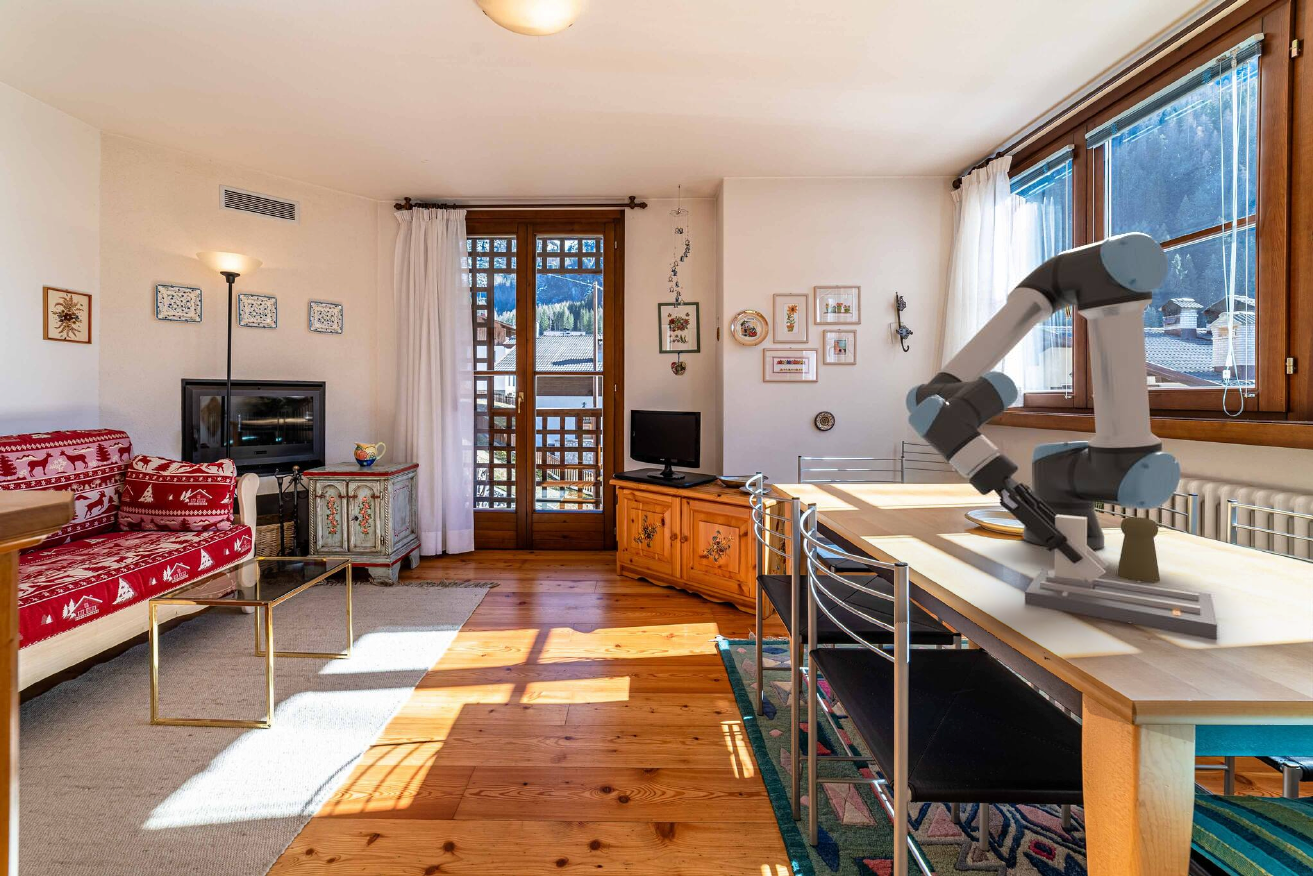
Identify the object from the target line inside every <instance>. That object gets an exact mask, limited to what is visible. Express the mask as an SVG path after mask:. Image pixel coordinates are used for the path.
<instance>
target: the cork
mask: <svg viewBox="0 0 1313 876" xmlns="http://www.w3.org/2000/svg"><path fill="white" fill-rule="evenodd" d="M1120 530H1121V532H1122V533H1123V535H1124V536H1123V540H1122V545H1121V552H1120V555H1119V556H1120V557H1119V562H1118V568H1117V570H1116V571H1117V572H1116V576H1117V577H1118V578H1121V579H1122V580H1123V579H1124V580H1127V579H1128V580H1127V581H1130V582H1132V581H1133V582H1137V581H1140V582H1139V583H1147V584H1148V583H1152V584H1153V583H1154V584H1155V583H1159V582H1161V578H1160V571H1159V565H1158V564H1159V563H1158V558H1157V552H1156V551H1157V550H1156V543H1155V537H1156V536H1157V535H1158V533H1159V525H1158V524H1157V522H1156V521H1155V520H1153V519H1150V518H1147V517H1139V516H1138V517H1137V516H1136V517H1135V516H1133V517H1126V518H1124V519H1122V520H1121V522H1120Z"/></svg>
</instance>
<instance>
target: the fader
mask: <svg viewBox="0 0 1313 876" xmlns="http://www.w3.org/2000/svg"><path fill="white" fill-rule="evenodd" d="M1055 527H1056V528H1057V529H1058V530H1059V531H1060V532H1061V533H1062V534H1063V535H1064V536H1066V537H1067V539H1068V540H1069V539H1071V540H1072V541H1073V542H1074V543H1075V544H1076V545H1078V546H1079V547H1080V548H1081V549H1082V550H1083V551H1084V552H1085V553H1086V554H1087V517H1080V516H1068V515H1056V517H1055ZM1049 570H1050V572H1049V573H1048V575H1047V576H1046V582H1051V583H1057V584H1063V585H1070V586H1076V587H1082V588H1088V589H1092V588H1093V586H1094V582H1095V579H1094V580H1093V581H1091V582H1089V581H1088V580H1087V579H1086V578H1085V577H1084V576H1083V575H1082V574H1080V573H1079V572H1078V571H1077V570H1076V569H1075V568H1074V567H1073V566H1072V565H1071V564H1070V563H1069V562H1068V561H1067V560H1066V559H1065V558H1064V557H1063V556H1061V555H1060V554H1059V553H1058V552H1057V551H1056V550H1055V549H1054V569H1049Z"/></svg>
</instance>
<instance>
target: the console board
mask: <svg viewBox="0 0 1313 876" xmlns="http://www.w3.org/2000/svg"><path fill="white" fill-rule="evenodd" d="M1050 570H1051V569H1044V568H1042V569H1040V571H1039V572H1038V573H1037V575H1036V576H1035V577H1034V579H1033V580H1032V582H1031V583H1029V586H1027V589H1026V590H1025V591H1024V604H1025V605H1028V606H1029V605H1030V606H1034V607H1041V608H1046V609H1051V610H1057V611H1061V612H1067V613H1074V614H1078V615H1083V616H1084V615H1085V616H1089V617H1093V618H1094V617H1095V618H1099V617H1100V619H1106V620H1109V621H1110V620H1112V621H1116V622H1122V623H1126V622H1131V623H1135V624H1134V625H1137V624H1139V625H1138V626H1142V625H1143V626H1142V627H1149V628H1154V629H1159V630H1165V631H1170V632H1175V633H1179V634H1180V633H1181V634H1187V635H1192V636H1197V637H1202V638H1207V639H1214V640H1217V638H1218V634H1217V633H1218V623H1217V618H1216V614H1215V608H1214V602H1213V599H1212V597H1213V596H1212V593H1207V592H1202V591H1201V592H1199V591H1195V590H1194V591H1193V590H1187V589H1186V590H1185V589H1179V588H1172V587H1165V586H1158V585H1153V584H1152V585H1151V584H1148V583H1147V584H1146V583H1141V582H1134V581H1133V582H1132V581H1125V580H1119V579H1113V578H1104V577H1100V576H1099V577H1098V578H1096V579H1095V582H1094V586H1093V588H1092V589H1088V588H1082V587H1076V586H1070V585H1063V584H1057V583H1051V582H1046V576H1047V575H1048V573H1049V572H1050ZM1131 623H1130V624H1131Z"/></svg>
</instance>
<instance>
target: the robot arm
mask: <svg viewBox="0 0 1313 876" xmlns="http://www.w3.org/2000/svg"><path fill="white" fill-rule="evenodd" d="M1168 268H1169V265H1168V259H1167V256H1166V253H1165V250H1164V249H1163V247H1162V246H1161V245H1160V243H1159V242H1158V241H1156V240H1155V239H1154V238H1153V237H1152V236H1149V235H1148V234H1145V233H1142V232H1129V233H1125V234H1120V235H1114V236H1110V237H1107V238H1105V239H1102V240H1101V239H1100V240H1099V241H1095V242H1091V243H1088V244H1086V245H1082V246H1079V247H1076V248H1073V249H1068V250H1066V251H1065V250H1064V251H1062V252H1060V253H1058V254H1056V255H1053V256H1052V257H1051V258H1049V259H1047V260H1046V261H1045V262H1043V263H1042V264H1040V265H1039V266H1038V267H1036V268H1035V269H1034V270H1033V271H1031V272H1030V273H1029V274H1028V275H1027V276H1025V278H1023V280H1021V281H1020V282H1019V283H1018V284H1017V285H1016V287H1014V288H1013V290H1012V291H1010V292H1009V294H1008V295H1007V299H1006V303H1005V304H1004V305H1003V306H1002V307H1001V308H1000V309H999V310H998V311H997V312H996V313H995V315H993V317H992V318H990V319H989V321H987V323H985V324H984V326H983V327H982V328H980V329H979V331H978V332H977V333H976V334H975V335H973V337H972V338H971V339H970V340H969V341H968V342H967V343H966V344H965V345H963V347H962V348H961V349H960V350H959V351H958V352H957V353H956V354H955V355H954V356H953V357H952V358H951V359H950V360H949V361H948V362H947V364H946V365H944V366H943V368H941V370H939V372H938V373H936V375H935V376H933V377H932V379H930V380H929V381H928V382H927V383H922V384H919V385H916V386H912V388H911V389H909V391H908V392H907V395H906V396H905V407H906V409H907V411H908V413H909V416H908V423H909V425H910V426H911V427H912V429H913V430H914V431H915V432H916V433H917V434H918V435H919V436H920V438H921V439H922V440H925V442H926V443H927V444H928V445H929V446H930V447H931V448H933V449H934V450H935V452H937V453H938V454H939V455H940V456H941V457H943V459H945V461H946V462H948V464H950V465H951V466H952V467H951V471H953V472H958V473H959V474H960V475H961V476H962V477H964V478H969V479H968V483H969V484H970V485H971V486H972V487H973V488H974V489H976V491H978V493H980V495H983V496H987V495H988V494H989V493H991V492H993V491H994V492H995V494H997V495H998V497H999V501H1000V502H999V504H1000V506H1001V507H1003V508H1004V509H1005V510H1007V512H1009V513H1010V514H1012V515H1013V517H1015V518H1016V519H1017V520H1018V521H1019V523H1021V524H1022V525H1023V529H1022V533H1023V534H1022V538H1023V540H1024V541H1026V542H1028V543H1031V544H1035V545H1039V546H1043V547H1047V548H1046V550H1047V551H1048V552H1049V553H1051V552H1053V551H1055V550H1056V551H1057V552H1058V553H1059V554H1060V555H1061V556H1063V557H1064V558H1065V559H1066V560H1067V561H1068V562H1069V563H1070V564H1071V565H1072V566H1073V567H1074V568H1075V569H1076V570H1077V571H1078V572H1079V573H1080V574H1082V575H1083V576H1084V577H1085V578H1086V579H1087V580H1088V581H1089V582H1091V581H1093V580H1094V579H1096V578H1098V577H1099V578H1100V577H1102V576H1103V575H1104V574H1106V572H1107V571H1106V570H1105V569H1106V568H1107V567H1108V566H1109V563H1107V562H1106V561H1105V560H1104V559H1103V558H1102V557H1101V556H1099V554H1097V553H1096V552H1095V551H1094V550H1097V549H1102V548H1104V547H1105V534H1104V532H1103V529H1102V527H1101V525H1100V521H1099V519H1098V516H1097V512H1096V503H1099V504H1106V505H1109V506H1110V505H1111V506H1119V507H1122V508H1125V509H1129V510H1130V509H1138V510H1154V509H1157V508H1159V507H1161V506H1164V504H1166V503H1167V502H1168V501H1169V500H1170V499H1171V498H1172V496H1173V495H1174V494H1175V492H1176V491H1177V489H1178V487H1179V483H1180V479H1181V466H1180V463H1179V461H1178V459H1177V460H1176V457H1175V456H1174V455H1173V454H1172V453H1168V452H1166V451H1164V450H1163V443H1162V442H1163V441H1162V439H1161V438H1159V437H1158V436H1157V435H1155V434H1154V433H1152V430H1151V429H1152V428H1151V417H1150V416H1151V415H1150V403H1149V401H1150V400H1149V388H1148V387H1149V385H1148V373H1147V372H1148V371H1147V357H1146V356H1147V354H1146V341H1145V339H1146V338H1145V327H1144V326H1145V325H1144V312H1145V311H1144V310H1145V309H1146V308H1147V307H1148V306H1149V305H1150V304H1151V303H1152V302H1153V291H1155V290H1156V289H1158V288H1159V287H1161V286H1162V285H1163V283H1164V282H1165V278H1167V274H1168V271H1169V270H1168ZM1071 306H1072V307H1073V306H1077V308H1076V309H1077V314H1079V315H1080V316H1082V317H1084V318H1085V319H1086V320H1087V330H1088V340H1089V341H1088V343H1089V354H1090V358H1089V359H1090V368H1091V369H1090V370H1091V384H1092V385H1091V386H1092V397H1093V398H1092V399H1093V410H1094V411H1093V412H1094V424H1095V435H1094V436H1093V437H1092V438H1091V439H1090V440H1081V441H1066V442H1064V441H1063V442H1052V443H1050V442H1049V443H1042V444H1039V445H1036V446H1035V447H1034V449H1033V454H1032V460H1031V470H1032V471H1031V478H1032V480H1031V482H1032V484H1031V485H1032V486H1031V487H1032V489H1031V487H1030V486H1029V485H1028V484H1024V483H1022V482H1020V483H1019V482H1018V481H1016V480H1015V479H1014V478H1012V476H1013V475H1014V474H1015V473H1017V471H1018V469H1019V467H1018V465H1017V464H1016V463H1014V462H1013V460H1011V459H1010V458H1009V457H1008V456H1007V455H1005V454H1002V453H999V452H1000V448H998V447H997V446H996V445H995V444H994V443H993V442H992V441H990V439H988V438H987V437H986V436H985V435H983V434H982V433H981V432H980V431H979V430H978V429H979V428H981V427H982V426H984V425H985V424H987V423H988V422H990V421H991V420H993V419H994V418H996V417H997V416H999V415H1000V414H1002V413H1004V412H1005V411H1006V410H1007V409H1008V408H1009V407H1010V406H1012V405H1013V404H1014V403H1015V402H1016V401H1017V399H1018V397H1019V396H1018V395H1019V393H1018V392H1019V390H1018V388H1017V386H1016V385H1015V382H1014V380H1013V379H1012V378H1011V377H1010V376H1008V375H1007V374H1006V373H1004V372H1000V371H997V370H996V371H995V370H994V371H993V369H995V367H997V365H998V364H999V363H1000V362H1001V361H1002V360H1003V359H1004V358H1005V357H1006V356H1007V355H1008V354H1009V353H1010V352H1011V351H1012V350H1014V348H1015V347H1016V346H1017V345H1018V344H1019V343H1020V341H1022V340H1023V339H1024V338H1025V336H1026V335H1027V334H1028V333H1029V332H1030V331H1032V330H1033V328H1035V326H1037V325H1038V324H1042V323H1044V322H1047V321H1048V320H1049V319H1050V318H1051V316H1054V314H1055V313H1057V312H1059V311H1061V310H1063V309H1066V308H1068V307H1071ZM1056 515H1068V516H1080V517H1087V554H1086V553H1085V552H1084V551H1083V550H1082V549H1081V548H1080V547H1079V546H1078V545H1076V544H1075V543H1074V542H1073V541H1072V540H1071V539H1069V540H1068V539H1067V537H1066V536H1064V535H1063V534H1062V533H1061V532H1060V531H1059V530H1058V529H1057V528H1056V527H1055V517H1056Z"/></svg>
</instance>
